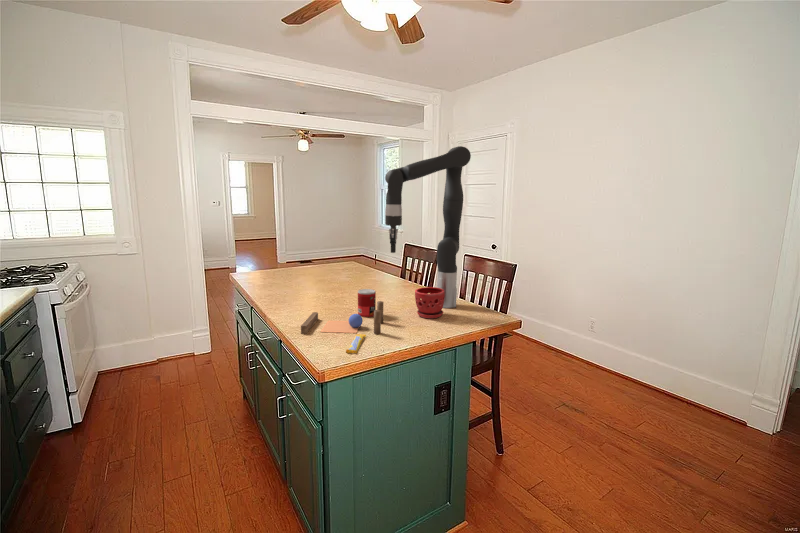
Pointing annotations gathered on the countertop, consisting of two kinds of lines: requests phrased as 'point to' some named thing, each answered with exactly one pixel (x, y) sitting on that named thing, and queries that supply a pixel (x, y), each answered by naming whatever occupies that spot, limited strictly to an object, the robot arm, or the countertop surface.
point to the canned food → (366, 302)
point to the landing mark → (339, 327)
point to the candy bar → (356, 343)
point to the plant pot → (429, 302)
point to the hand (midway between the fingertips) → (393, 252)
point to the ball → (355, 320)
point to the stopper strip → (309, 323)
